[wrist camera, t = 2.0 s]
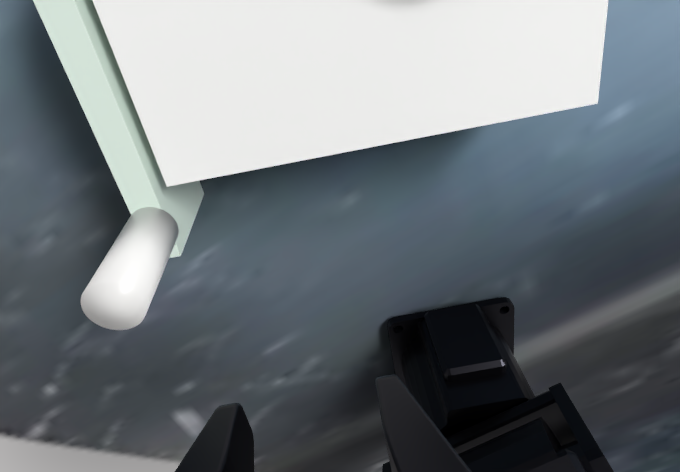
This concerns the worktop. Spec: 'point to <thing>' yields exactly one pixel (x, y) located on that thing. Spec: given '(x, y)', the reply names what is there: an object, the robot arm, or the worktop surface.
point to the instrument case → (341, 73)
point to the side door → (120, 170)
